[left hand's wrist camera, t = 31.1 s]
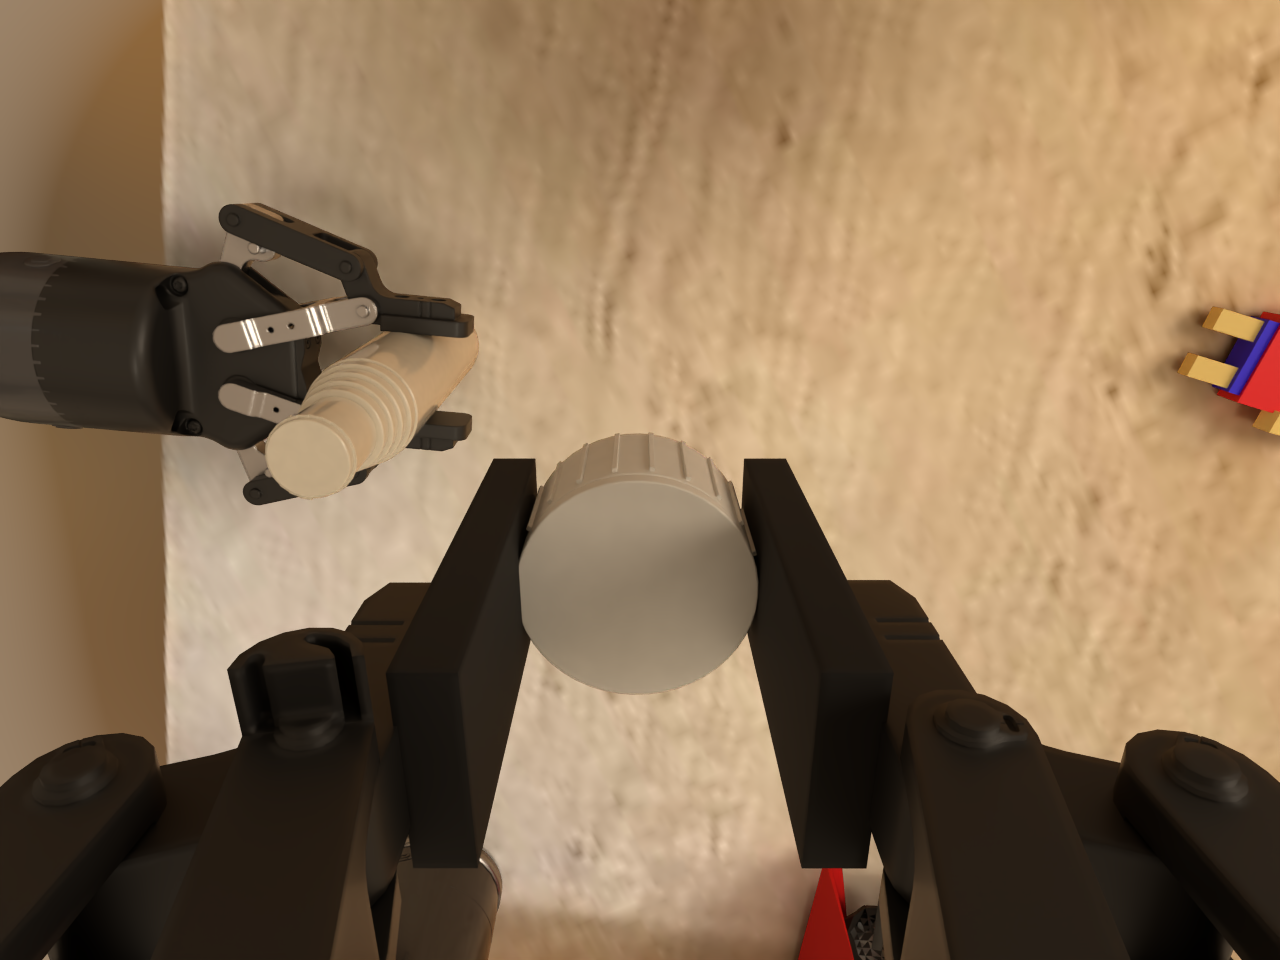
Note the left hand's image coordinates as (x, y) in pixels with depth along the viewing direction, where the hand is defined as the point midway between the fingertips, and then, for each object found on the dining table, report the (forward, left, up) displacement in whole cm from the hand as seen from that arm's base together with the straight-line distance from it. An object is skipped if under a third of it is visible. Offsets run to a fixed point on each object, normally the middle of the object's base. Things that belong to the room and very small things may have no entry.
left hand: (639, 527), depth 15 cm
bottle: (+5, -9, -29) cm, 31 cm away
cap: (0, 0, +2) cm, 2 cm away
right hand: (+5, -6, -22) cm, 23 cm away
